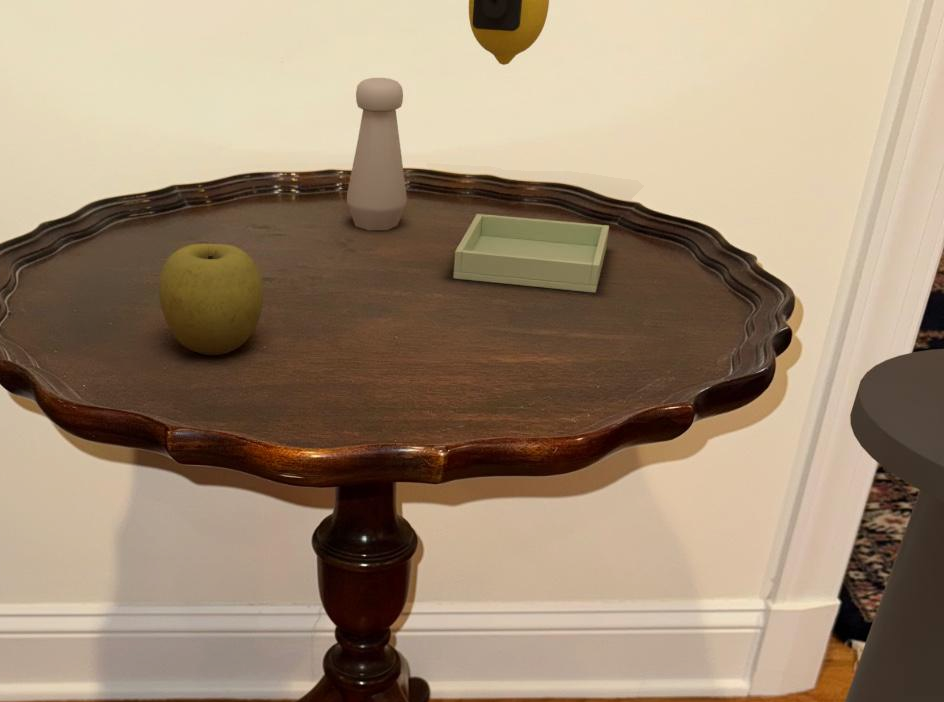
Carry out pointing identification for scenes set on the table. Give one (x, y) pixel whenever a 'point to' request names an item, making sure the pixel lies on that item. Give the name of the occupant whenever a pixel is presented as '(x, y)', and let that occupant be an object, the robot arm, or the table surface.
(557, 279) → the dish
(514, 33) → the lemon
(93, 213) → the table surface
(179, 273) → the apple
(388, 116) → the salt shaker
